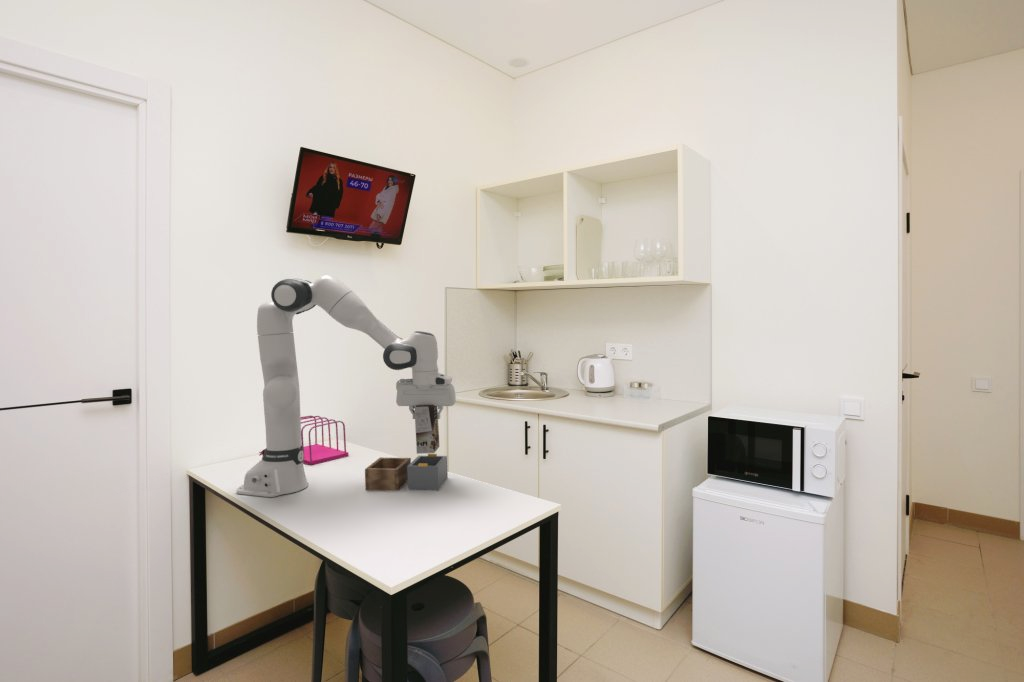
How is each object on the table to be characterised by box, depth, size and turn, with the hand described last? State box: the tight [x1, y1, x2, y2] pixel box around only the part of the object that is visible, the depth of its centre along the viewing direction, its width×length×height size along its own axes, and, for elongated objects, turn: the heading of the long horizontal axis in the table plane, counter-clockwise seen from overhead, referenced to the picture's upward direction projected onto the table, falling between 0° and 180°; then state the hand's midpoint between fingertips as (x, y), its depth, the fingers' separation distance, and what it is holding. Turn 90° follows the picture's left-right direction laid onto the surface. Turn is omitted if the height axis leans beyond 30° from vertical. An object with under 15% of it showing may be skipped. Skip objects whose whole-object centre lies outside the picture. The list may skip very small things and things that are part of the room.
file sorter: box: [300, 415, 350, 466], centre depth 222 cm, size 17×25×16 cm
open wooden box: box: [364, 457, 412, 491], centre depth 184 cm, size 11×14×7 cm
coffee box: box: [414, 405, 440, 455], centre depth 182 cm, size 9×6×16 cm
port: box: [407, 453, 449, 492], centre depth 183 cm, size 10×13×9 cm
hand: (426, 418), depth 182 cm, fingers closed on coffee box, 6 cm apart
